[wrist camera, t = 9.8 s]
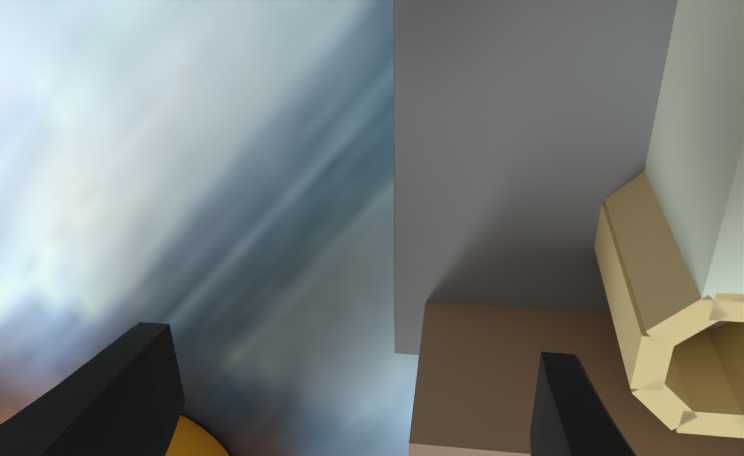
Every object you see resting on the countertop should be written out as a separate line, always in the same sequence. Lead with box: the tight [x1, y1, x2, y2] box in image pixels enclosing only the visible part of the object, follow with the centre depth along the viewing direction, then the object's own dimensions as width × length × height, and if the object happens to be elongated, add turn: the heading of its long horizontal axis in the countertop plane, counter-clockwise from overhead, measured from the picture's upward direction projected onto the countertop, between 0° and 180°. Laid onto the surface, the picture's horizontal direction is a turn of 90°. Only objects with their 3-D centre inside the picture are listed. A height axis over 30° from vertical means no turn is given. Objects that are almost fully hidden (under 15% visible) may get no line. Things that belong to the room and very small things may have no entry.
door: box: [594, 0, 744, 438], centre depth 15 cm, size 14×4×6 cm, turn 1°
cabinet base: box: [394, 0, 744, 456], centre depth 16 cm, size 20×16×7 cm
